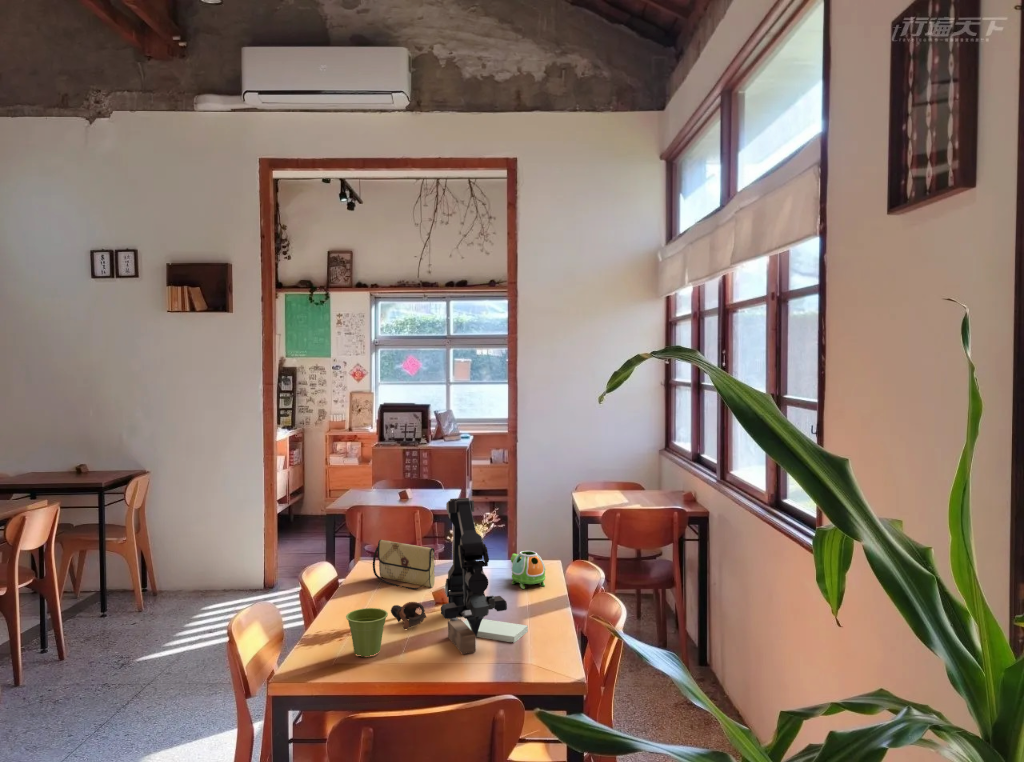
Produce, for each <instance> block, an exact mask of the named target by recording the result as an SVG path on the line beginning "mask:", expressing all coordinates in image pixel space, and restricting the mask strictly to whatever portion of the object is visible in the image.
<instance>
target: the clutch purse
mask: <svg viewBox="0 0 1024 762" xmlns="http://www.w3.org/2000/svg"><path fill="white" fill-rule="evenodd" d="M435 557H436V555H435V548H434V547H426V546H420V545H414V544H408V543H401V542H396V541H390V540H385V539H384V540H383V539H378V542H377V547H376V548H375V551H374V553H373V557H372V570H373V574H374V576H375V578H376V579H378V580H380V581H382V582H383V583H386V584H387V585H392V586H394V585H396V586H395V587H398V586H402V587H406V588H405V589H407V588H408V589H409V590H418V589H420V588H421V587H423V586H424V587H428V588H434V586H435V579H436V578H435V576H436V575H435V567H436V564H435V559H436V558H435ZM376 558H378V562H379V564H378V566H379V575H378V574H377V571H376ZM381 577H383V578H381ZM385 579H388V580H393V581H398V582H402V583H403V582H404V583H409V584H413V585H418V586H419V587H411V586H404V585H400V584H397V583H393V582H390V581H387V580H385ZM402 587H401V588H402Z"/></svg>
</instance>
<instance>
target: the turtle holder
mask: <svg viewBox="0 0 1024 762" xmlns="http://www.w3.org/2000/svg"><path fill="white" fill-rule="evenodd" d="M510 562H511V579H512V581H511V585H516V583H519V587H520V589H522V590H525V589H526V586H525V585H535V584H540V586H541V587H546V583H545V582H544V581H546V565H545V563H544V561H543V559H542V557H541V556H540V555H539V554H538V553H537V552H535V551H534V550H533V551H532V550H523V551H520V552H519V553H511V557H510Z"/></svg>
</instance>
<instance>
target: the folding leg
mask: <svg viewBox="0 0 1024 762" xmlns="http://www.w3.org/2000/svg"><path fill="white" fill-rule="evenodd" d="M447 632H448V633H447V636H448V637H447V638H448V639H449V641H450V642H452V643H453V644H454V646H455V647H456V648H457V650H458V651H459V652H460V653H461V654H462V655H464V654H465V655H466V654H471V653H475V652H477V648H476V645H477V644H476V638H477V637H476V636H475V634H474V633H473V632H472V630H471V629H470V628H469V627H468V626H467V625H466V624H465V623H464V621H463V620H462V619H461V618H458V616H457V617H456V618H452V619H449V620H448V621H447Z"/></svg>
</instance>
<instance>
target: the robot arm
mask: <svg viewBox="0 0 1024 762" xmlns="http://www.w3.org/2000/svg"><path fill="white" fill-rule="evenodd" d="M445 506H446V507H445V508H446V514H448V518H449V520H450V522H451V523H452V565H451V566H450V568H449V570H448V571H447V578H445V579H446V580H445V586H444V590H445V595H446V597H447V598H448V600H447V601H448V602H447V603H443V604H442V605H441V607H440V614H441V615H442V617H443V618H444V619H445V620H450V619H452V618H456V617H457V618H458V617H463V618H464V619H465V620H468V622H469V625H470V627H471V630H472V632H473V633H474V634H475V636H477V633H478V630H479V627H480V623H481V621H482V619H485V617H487V616H488V615H489V611H491V610H495V611H496V612H503V611H507V610H508V604H507V601H506V600H505V598H503V597H502V596H501V595H497V596H494V595H487V596H486V593H485V591H486V590H487V589H488V587H489V578H488V577H487V575H486V573H485V572H484V568H483V567H488V566H489V562H490V558H489V557H490V556H489V551H488V547H487V545H486V543H484V541H483V538H482V535H480V534H479V533H478V532H477V530H476V526H475V525H476V524H475V521H474V516H473V512H474V513H475V500H470V498H469V497H461V498H459V497H457V498H456V497H455V498H450V499H449V500H448V501H447V502H446V505H445Z"/></svg>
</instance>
